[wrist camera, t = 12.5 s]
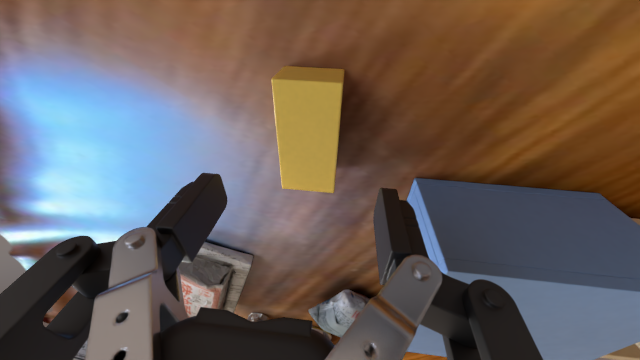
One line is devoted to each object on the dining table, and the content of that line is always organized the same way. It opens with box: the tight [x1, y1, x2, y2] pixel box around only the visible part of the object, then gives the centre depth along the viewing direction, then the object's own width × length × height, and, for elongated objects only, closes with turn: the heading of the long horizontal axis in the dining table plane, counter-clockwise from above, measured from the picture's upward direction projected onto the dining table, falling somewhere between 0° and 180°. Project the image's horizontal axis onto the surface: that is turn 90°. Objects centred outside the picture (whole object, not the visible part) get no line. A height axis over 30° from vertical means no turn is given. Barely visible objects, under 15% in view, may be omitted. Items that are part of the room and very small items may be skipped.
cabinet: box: [407, 178, 640, 360], centre depth 20 cm, size 15×14×9 cm
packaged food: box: [308, 289, 370, 337], centre depth 32 cm, size 9×12×5 cm
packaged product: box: [178, 242, 253, 317], centre depth 32 cm, size 18×5×10 cm
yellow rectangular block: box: [272, 66, 345, 193], centre depth 16 cm, size 8×4×3 cm, turn 179°
